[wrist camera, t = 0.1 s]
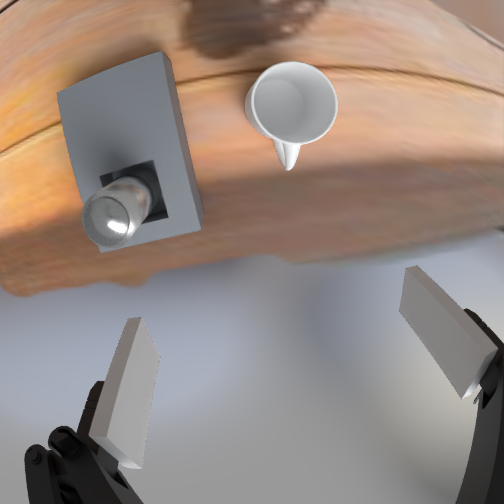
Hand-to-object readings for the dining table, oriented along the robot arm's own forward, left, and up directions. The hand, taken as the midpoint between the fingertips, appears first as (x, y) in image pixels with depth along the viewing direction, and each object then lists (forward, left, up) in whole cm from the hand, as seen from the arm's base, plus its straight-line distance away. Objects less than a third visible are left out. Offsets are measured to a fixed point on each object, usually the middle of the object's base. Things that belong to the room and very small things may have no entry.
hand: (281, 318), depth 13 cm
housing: (-8, -13, -28) cm, 32 cm away
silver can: (-3, -13, -26) cm, 29 cm away
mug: (-8, +6, -28) cm, 30 cm away
